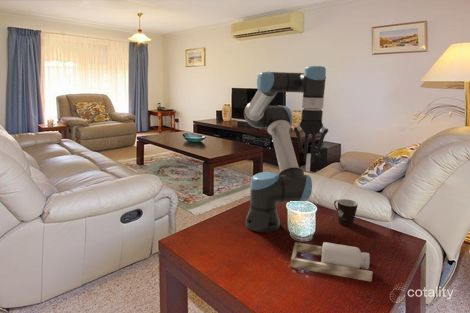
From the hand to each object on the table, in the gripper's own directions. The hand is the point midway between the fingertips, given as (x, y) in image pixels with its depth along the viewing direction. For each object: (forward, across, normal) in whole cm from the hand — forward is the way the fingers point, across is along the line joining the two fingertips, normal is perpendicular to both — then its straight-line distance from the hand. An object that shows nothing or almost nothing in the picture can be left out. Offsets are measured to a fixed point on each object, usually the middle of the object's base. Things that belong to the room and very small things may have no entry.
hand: (307, 170), depth 121 cm
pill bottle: (+25, +8, -18) cm, 31 cm away
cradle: (+28, +11, -17) cm, 35 cm away
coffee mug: (+29, +17, +22) cm, 40 cm away
